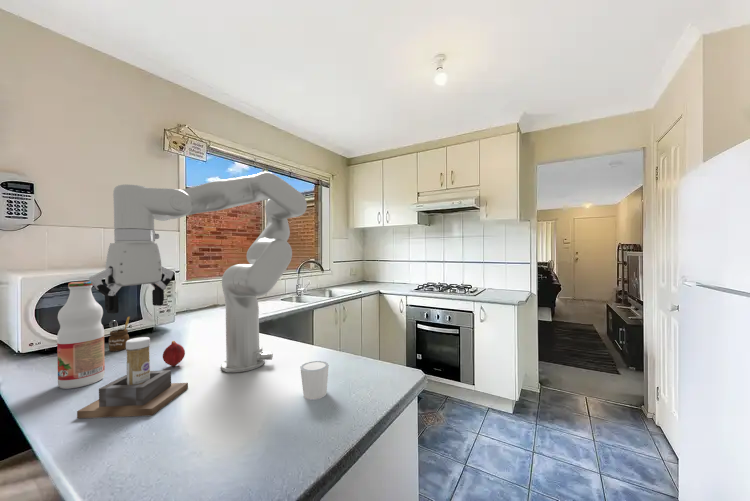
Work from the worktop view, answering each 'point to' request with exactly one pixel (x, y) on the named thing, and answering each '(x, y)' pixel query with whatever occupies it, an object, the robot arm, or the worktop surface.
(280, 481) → the worktop surface
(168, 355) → the onion
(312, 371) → the white cup
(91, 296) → the fruit juice
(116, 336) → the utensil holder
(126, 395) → the socket stand
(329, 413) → the worktop surface
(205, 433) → the worktop surface
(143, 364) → the sprinkles bottle
